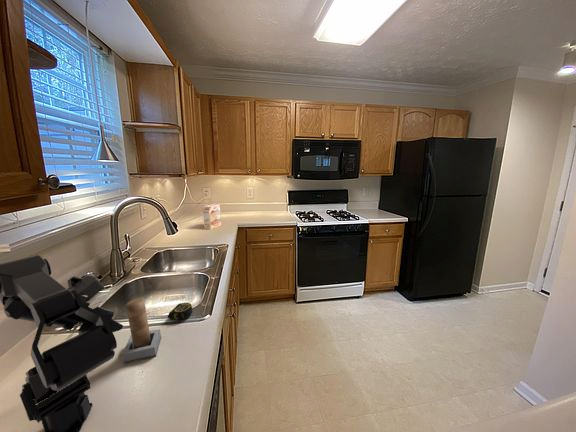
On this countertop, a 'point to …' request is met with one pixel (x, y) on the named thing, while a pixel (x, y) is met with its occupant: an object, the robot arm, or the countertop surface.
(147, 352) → the pocket block
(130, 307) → the peg
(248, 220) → the countertop surface
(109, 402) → the countertop surface
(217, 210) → the coffeecake box
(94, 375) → the countertop surface
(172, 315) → the tape measure
